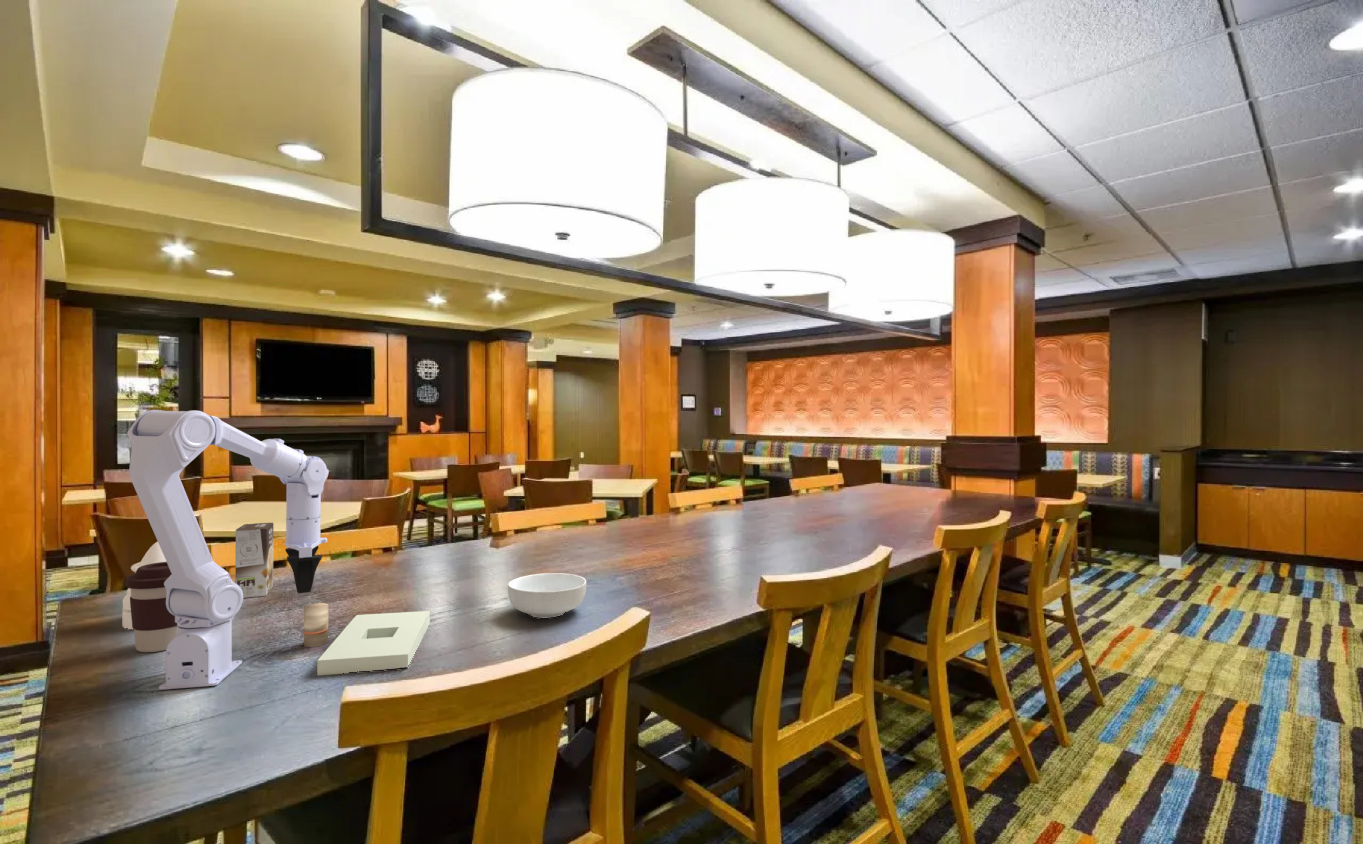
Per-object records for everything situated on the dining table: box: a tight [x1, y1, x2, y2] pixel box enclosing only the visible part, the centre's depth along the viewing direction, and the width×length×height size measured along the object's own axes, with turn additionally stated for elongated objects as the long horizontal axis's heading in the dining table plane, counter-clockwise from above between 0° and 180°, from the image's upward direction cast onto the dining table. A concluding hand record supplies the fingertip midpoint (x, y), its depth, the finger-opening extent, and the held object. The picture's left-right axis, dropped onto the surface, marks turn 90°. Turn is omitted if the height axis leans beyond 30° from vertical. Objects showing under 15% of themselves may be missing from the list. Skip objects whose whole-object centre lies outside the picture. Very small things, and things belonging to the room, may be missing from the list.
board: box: [316, 610, 431, 676], centre depth 118 cm, size 24×14×2 cm, turn 13°
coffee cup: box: [125, 562, 177, 653], centre depth 116 cm, size 10×10×15 cm
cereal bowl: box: [507, 572, 588, 617], centre depth 138 cm, size 17×17×7 cm
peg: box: [303, 602, 329, 648], centre depth 119 cm, size 4×4×7 cm
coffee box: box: [234, 522, 274, 599], centre depth 151 cm, size 9×6×16 cm
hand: (302, 587), depth 122 cm, fingers open, 7 cm apart
